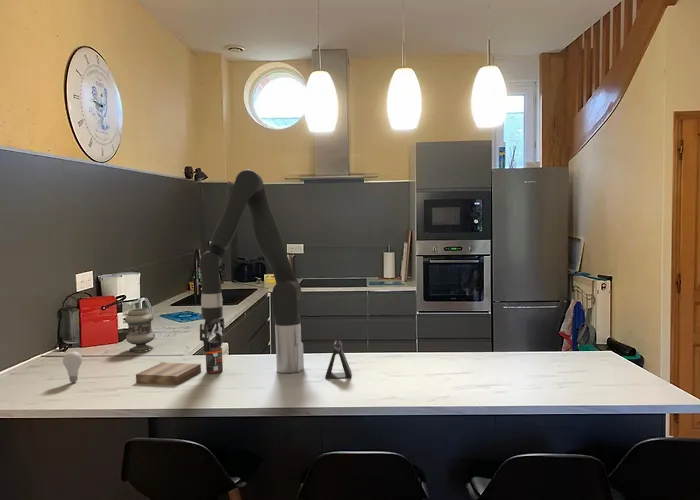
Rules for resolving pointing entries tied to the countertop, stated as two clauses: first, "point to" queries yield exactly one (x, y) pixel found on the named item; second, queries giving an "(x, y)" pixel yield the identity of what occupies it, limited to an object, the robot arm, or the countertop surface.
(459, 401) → the countertop surface
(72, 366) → the lightbulb
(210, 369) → the supplement bottle
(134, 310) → the apothecary jar
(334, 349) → the black triangular frame
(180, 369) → the walnut base
